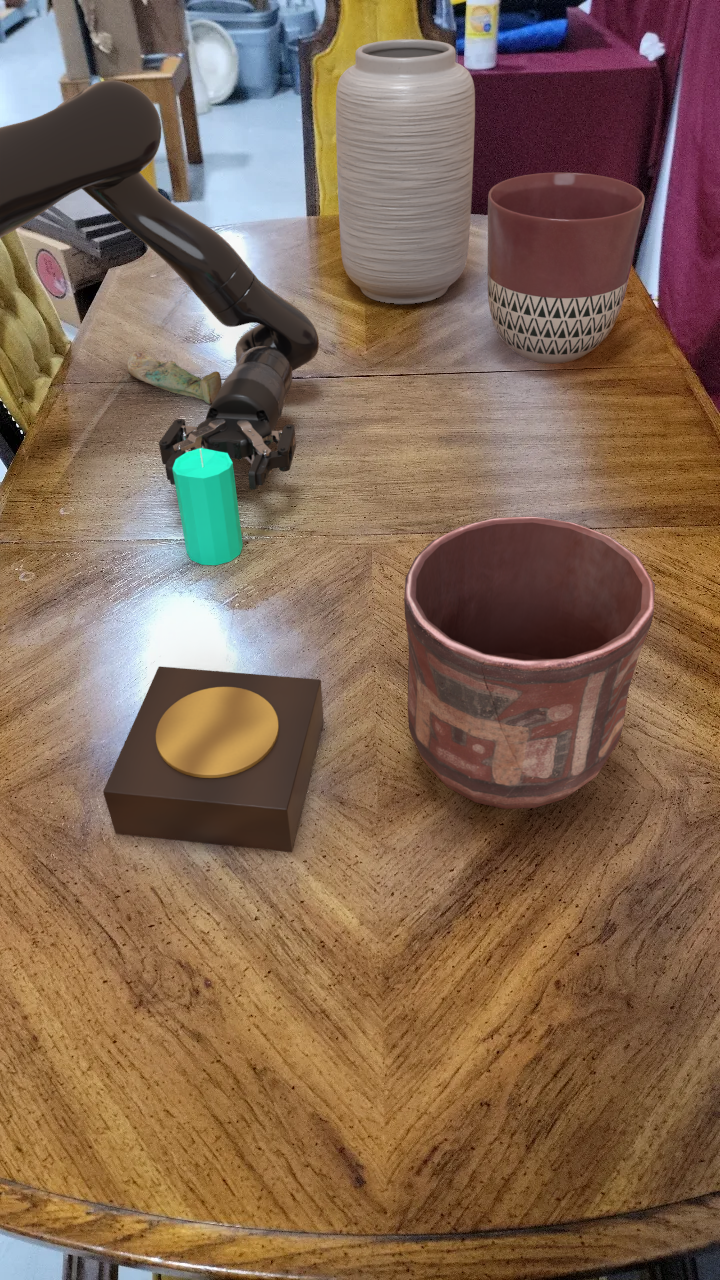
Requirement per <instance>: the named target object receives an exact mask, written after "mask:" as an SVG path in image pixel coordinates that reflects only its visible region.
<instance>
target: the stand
mask: <svg viewBox="0 0 720 1280" xmlns="http://www.w3.org/2000/svg"><path fill="white" fill-rule="evenodd" d="M322 690H323V689H322V680H321V679H319V678H318V679H317V678H307V677H294V676H282V675H281V676H280V675H269V674H257V673H246V672H244V673H243V672H232V671H222V670H221V671H219V670H210V669H209V670H207V669H197V668H196V669H195V668H185V667H171V666H157V670H156V672H155V674H154V676H153V678H152V680H151V682H150V685H149V687H148V689H147V692H146V694H145V695H144V698H143V701H142V702H141V705H140V707H139V710H138V712H137V715H135V716H136V717H135V719H134V721H133V723H132V725H131V728H130V730H129V732H128V734H127V737H126V739H125V741H124V743H123V746H122V748H121V750H120V753H119V755H118V757H117V759H116V762H115V763H114V766H113V768H112V771H111V773H110V775H109V776H108V780H107V782H106V783H105V786H104V788H103V791H102V793H103V796H104V800H105V803H106V806H107V810H108V813H109V817H110V820H111V824H112V826H113V829H114V833H115V834H116V835H126V836H134V837H145V838H153V839H165V840H172V841H173V840H174V841H182V842H190V843H191V842H193V843H203V844H212V845H220V846H221V845H222V846H230V847H239V848H240V847H241V848H248V849H257V850H258V849H259V850H269V851H277V852H285V853H292V852H293V849H294V846H295V841H296V836H297V832H298V829H299V824H300V821H301V817H302V812H303V808H304V805H305V804H304V803H305V800H306V796H307V792H308V788H309V783H310V779H311V775H312V771H313V768H314V767H313V766H314V763H315V759H316V755H317V751H318V746H319V743H320V738H321V734H322V730H323V726H324V722H325V721H324V708H323V706H324V705H323V694H322V693H323V692H322Z"/></svg>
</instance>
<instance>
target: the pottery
mask: <svg viewBox="0 0 720 1280" xmlns="http://www.w3.org/2000/svg"><path fill="white" fill-rule="evenodd" d="M655 593H656V584H655V582H654V581H653V578H652V577H651V576H650V574H649V572H648V571H647V569H646V567H645V566H644V564H643V562H642V560H641V559H640V557H639V556H637V555H636V554H635V553H634V552H632V551H631V550H630V549H628V548H627V547H625V546H624V545H623V544H621V543H620V542H619V541H618V540H616V539H615V538H613V537H612V536H610V535H608V534H605V533H603V532H599V531H597V530H594V529H592V528H589V527H586V526H584V525H581V524H578V523H575V522H572V521H571V522H570V521H565V520H558V519H552V518H546V517H540V516H534V515H532V516H531V515H528V516H513V517H512V516H510V517H507V516H506V517H493V518H488V519H485V520H481V521H480V520H479V521H476V522H471V523H468V524H464V525H460V526H458V527H456V528H454V529H452V530H450V531H449V532H446V533H445V534H443V535H441V536H439V537H437V538H435V539H433V540H431V541H430V542H429V544H427V546H425V548H423V549H422V550H421V551H420V552H419V553H418V554H417V555H416V556H415V557H414V559H413V561H412V563H411V565H410V567H409V570H408V572H407V574H406V575H405V580H404V594H403V595H404V597H403V604H404V619H405V627H406V633H407V635H406V636H407V644H408V645H407V647H408V661H407V662H408V663H407V664H408V665H407V667H408V669H407V670H408V671H407V674H408V675H407V719H408V720H407V722H408V729H409V733H410V735H411V739H412V740H413V742H414V744H415V747H416V749H417V751H418V754H419V755H420V758H421V759H422V760H423V762H424V763H425V765H426V766H427V767H428V768H429V769H430V770H431V772H432V773H433V774H434V775H435V776H436V777H437V778H438V779H439V780H440V781H441V782H442V783H443V784H444V785H445V787H446V788H448V789H449V790H452V791H453V792H455V793H457V794H459V795H460V796H463V797H465V798H466V799H468V800H470V801H472V802H474V803H475V804H481V805H485V806H489V807H494V808H499V809H503V810H506V809H507V810H508V809H511V810H512V809H536V808H539V807H543V806H546V805H549V804H553V803H556V802H560V801H561V800H565V799H566V798H568V797H569V796H571V795H572V794H574V793H575V792H576V791H578V790H580V789H581V788H583V787H584V786H585V785H587V784H588V783H589V782H591V781H592V780H593V779H595V778H596V777H597V776H598V774H600V771H601V770H602V769H603V767H604V765H605V764H606V763H607V761H608V760H609V758H610V756H611V755H612V753H613V752H614V750H615V749H616V748H617V746H618V744H619V742H620V739H621V736H622V733H623V727H624V721H625V715H626V709H627V703H628V697H629V690H630V687H631V684H632V680H633V676H634V673H635V670H636V667H637V663H638V659H639V656H640V654H641V652H642V649H643V646H644V644H645V641H646V639H647V637H648V634H649V631H650V629H651V627H652V623H653V622H652V621H653V617H654V613H655V597H656V596H655Z"/></svg>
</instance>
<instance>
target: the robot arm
mask: <svg viewBox="0 0 720 1280" xmlns="http://www.w3.org/2000/svg"><path fill="white" fill-rule="evenodd" d="M161 140H162V124H161V118H160V114H159V111H158V109H157V108H156V106H155V104H154V102H153V101H152V100H151V99H150V98H149V96H148V95H147V94H145V93H144V92H143V91H142V90H141V89H139V88H137V87H136V86H135V85H133V84H131V83H127V82H125V81H121V80H115V79H109V80H107V79H106V80H102V81H98V82H95V83H93V84H91V85H89V86H88V87H86V88H84V89H83V90H81V91H79V92H77V93H76V94H74V95H72V96H70V97H69V98H67V99H66V100H64V101H63V102H61V103H60V104H59V105H57V106H56V107H55V108H54V109H51V110H50V111H48V112H46V113H43V114H41V115H39V116H37V117H34V118H31V119H27V120H24V121H21V122H16V123H12V124H9V125H3V126H0V239H1V238H3V237H5V236H6V235H9V234H11V233H12V232H14V231H16V230H17V229H19V228H21V227H22V226H24V225H25V224H27V223H29V222H30V221H32V220H33V219H35V218H37V217H38V216H39V215H41V214H43V213H44V212H46V211H47V210H49V209H51V207H53V206H55V205H56V204H57V203H59V202H60V201H62V200H63V199H65V198H66V197H69V195H72V194H74V193H75V192H77V191H80V190H82V191H83V192H85V193H86V194H87V195H88V196H90V198H92V199H93V200H95V202H96V203H98V204H99V205H100V206H101V207H103V209H105V210H106V211H107V212H108V213H110V214H111V215H112V216H113V217H114V218H115V219H117V220H118V222H120V223H121V224H122V225H123V226H125V227H126V228H127V229H128V230H129V231H131V233H133V235H135V236H136V237H137V238H138V239H140V240H141V241H142V242H143V243H144V244H145V245H146V246H147V247H149V248H150V250H152V251H153V252H154V253H155V254H156V255H157V256H159V257H160V258H161V259H162V260H163V261H164V262H165V263H166V264H167V265H168V266H169V267H170V268H171V269H172V270H173V271H174V272H175V273H176V274H177V275H178V277H180V279H181V280H182V281H183V282H184V283H185V284H186V285H187V287H188V288H189V289H190V290H191V291H192V292H193V293H194V295H195V296H196V297H197V298H198V299H199V300H200V301H201V303H202V304H203V305H204V306H205V307H206V308H207V309H208V311H209V312H210V313H211V314H212V315H213V317H215V319H216V320H217V321H218V322H219V323H220V324H221V325H223V326H224V327H228V328H236V327H239V326H243V325H248V324H258V325H257V326H255V327H253V328H251V329H250V330H248V331H246V332H245V333H244V334H243V335H242V336H241V337H240V338H239V339H238V341H237V342H236V345H235V366H234V368H233V369H232V371H231V373H230V374H228V376H227V377H226V378H225V379H224V381H223V383H222V384H221V388H220V390H219V392H218V394H217V396H216V397H215V399H214V401H213V403H211V405H210V406H209V408H208V411H207V414H206V417H205V420H204V421H201V423H199V424H198V425H197V426H193V425H192V426H191V425H186V420H185V419H184V418H176V419H175V420H174V421H173V422H172V423H171V424H170V426H169V428H168V429H167V430H166V432H165V433H164V434H163V436H162V437H161V439H160V440H159V442H158V447H159V452H160V458H161V463H162V465H164V468H165V473H166V479H167V481H169V483H170V485H171V486H175V481H174V475H173V469H172V468H173V465H174V463H175V460H176V459H177V458H178V457H180V456H181V455H183V454H184V453H186V452H187V451H188V450H190V451H192V450H195V449H199V448H204V449H209V450H214V451H219V452H225V453H228V455H229V457H230V459H231V460H232V459H233V460H243V459H246V460H247V461H248V463H249V464H250V467H249V470H248V474H247V477H248V486H249V490H252V491H257V490H258V489H259V487H260V486H263V485H265V484H266V482H267V480H268V478H269V474H271V473H272V472H273V471H274V470H275V469H278V470H279V471H280V472H288V471H290V470H291V467H292V464H293V459H294V456H295V451H296V448H297V443H296V442H297V440H296V427H295V424H291V423H290V424H285V425H283V428H282V429H281V430H275V429H276V427H277V424H278V421H279V419H280V418H281V417H282V413H283V410H284V405H285V400H286V397H287V395H288V393H289V390H290V389H291V385H292V381H293V372H294V371H295V370H297V369H299V368H301V367H303V366H304V365H306V364H308V363H309V362H311V361H312V360H314V358H315V357H316V356H317V354H318V352H319V347H320V342H319V335H318V331H317V329H316V327H315V325H314V324H313V322H312V321H311V320H310V319H309V317H308V316H307V315H305V313H304V312H302V311H301V310H300V309H299V308H297V307H296V306H294V305H293V304H292V303H290V302H289V301H287V300H286V299H284V298H283V297H281V296H280V295H279V294H277V293H276V292H275V291H274V290H272V289H271V288H270V287H269V286H267V285H265V284H264V283H263V282H262V281H260V279H259V278H258V277H257V276H256V275H255V273H254V272H253V270H252V269H251V268H250V267H249V266H248V264H246V262H245V261H244V259H243V258H242V257H241V256H240V255H239V253H238V252H237V251H236V250H235V249H234V248H233V246H231V244H230V243H229V242H227V240H226V239H224V238H223V237H222V236H221V235H220V234H219V233H218V232H216V231H215V230H214V229H212V227H209V226H208V225H207V224H205V223H203V222H202V221H200V220H199V219H197V218H196V217H194V216H193V215H191V214H189V213H187V212H186V211H184V210H183V209H181V208H180V207H179V206H177V205H175V204H174V203H172V202H171V201H170V200H169V199H168V198H166V197H165V196H163V194H161V193H160V192H159V191H158V190H157V189H156V188H155V187H154V186H153V185H152V184H150V182H149V181H148V180H147V179H146V178H145V177H144V176H143V174H142V173H141V172H142V171H143V170H145V169H146V168H147V167H148V166H149V165H150V164H151V163H152V162H153V160H154V158H155V157H156V155H157V153H158V151H159V148H160V144H161ZM273 443H274V444H275V446H276V447H277V448H276V450H271V449H270V448H269V447H270V446H271V445H272V444H273Z"/></svg>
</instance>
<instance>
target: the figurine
mask: <svg viewBox="0 0 720 1280" xmlns="http://www.w3.org/2000/svg"><path fill="white" fill-rule="evenodd" d="M126 371H127V373H128V374H129V375H131V376H132V377H134V378H135V379H137V380H139V381H141V382H144V383H146V384H149V385H151V386H152V387H153V386H154V387H156V388H157V389H161V390H165V391H167V392H170V393H173V394H178V395H182V396H185V397H191V398H196V399H199V400H203V401H204V402H205V403H206V404H209V405H210V404H212V403H213V401H214V399H215V397H216V396H217V394H218V392H219V390H220V388H221V387H222V377H221V374H220V372H219V371H217V370H216V371H212V372H211V373H208V374H206V375H204V377H202V378H200V377H198V376H196V375H194V374H192V373H191V372H189V371H187V370H186V369H184V368H182V367H181V366H179V365H178V364H177V363H176V361H174V360H169V361H168V362H167V361H166V362H165V361H163V360H158V359H154V358H153V357H152V356H151V355H150V354H148V353H145V352H144V351H141V350H135V351H133V352H131V353H130V354H129V356H128V358H127V361H126Z"/></svg>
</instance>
